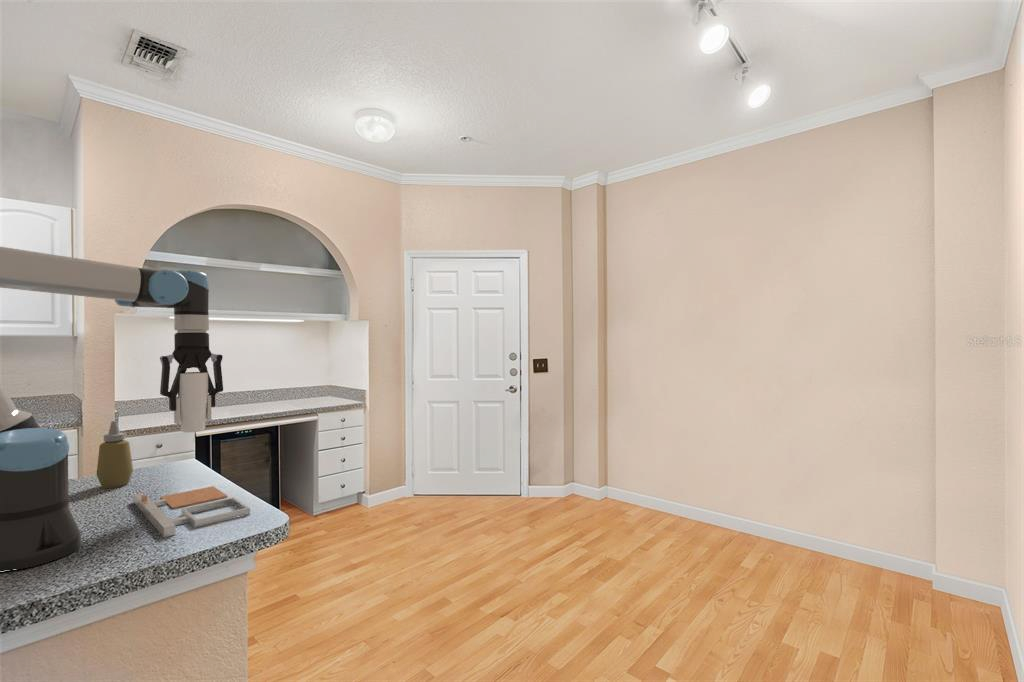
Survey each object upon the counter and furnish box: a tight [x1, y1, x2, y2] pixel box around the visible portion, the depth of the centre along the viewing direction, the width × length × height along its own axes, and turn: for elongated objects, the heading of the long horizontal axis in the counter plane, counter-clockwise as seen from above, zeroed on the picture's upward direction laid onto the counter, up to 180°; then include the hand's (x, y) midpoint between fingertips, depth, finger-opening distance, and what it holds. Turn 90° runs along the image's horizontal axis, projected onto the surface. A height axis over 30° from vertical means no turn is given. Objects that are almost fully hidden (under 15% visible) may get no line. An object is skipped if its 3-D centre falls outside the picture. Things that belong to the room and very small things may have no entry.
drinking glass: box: [177, 371, 209, 433], centre depth 129 cm, size 7×7×15 cm
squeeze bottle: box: [95, 420, 134, 489], centre depth 141 cm, size 8×8×18 cm
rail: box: [133, 486, 251, 538], centre depth 121 cm, size 32×18×3 cm, turn 46°
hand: (193, 421), depth 129 cm, fingers closed on drinking glass, 6 cm apart
